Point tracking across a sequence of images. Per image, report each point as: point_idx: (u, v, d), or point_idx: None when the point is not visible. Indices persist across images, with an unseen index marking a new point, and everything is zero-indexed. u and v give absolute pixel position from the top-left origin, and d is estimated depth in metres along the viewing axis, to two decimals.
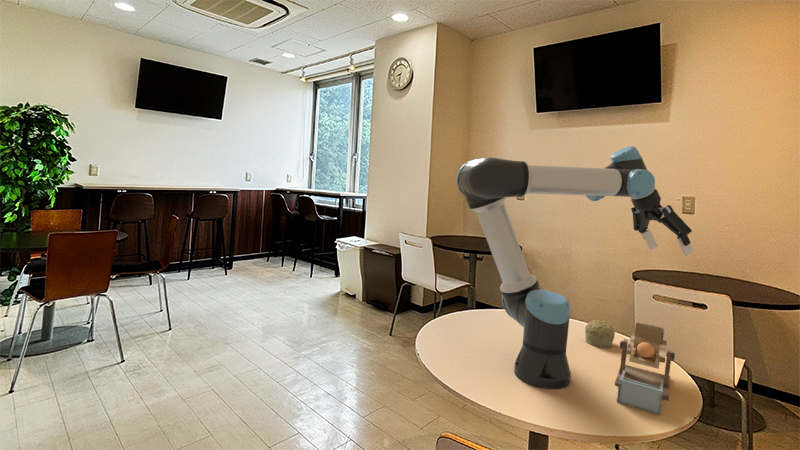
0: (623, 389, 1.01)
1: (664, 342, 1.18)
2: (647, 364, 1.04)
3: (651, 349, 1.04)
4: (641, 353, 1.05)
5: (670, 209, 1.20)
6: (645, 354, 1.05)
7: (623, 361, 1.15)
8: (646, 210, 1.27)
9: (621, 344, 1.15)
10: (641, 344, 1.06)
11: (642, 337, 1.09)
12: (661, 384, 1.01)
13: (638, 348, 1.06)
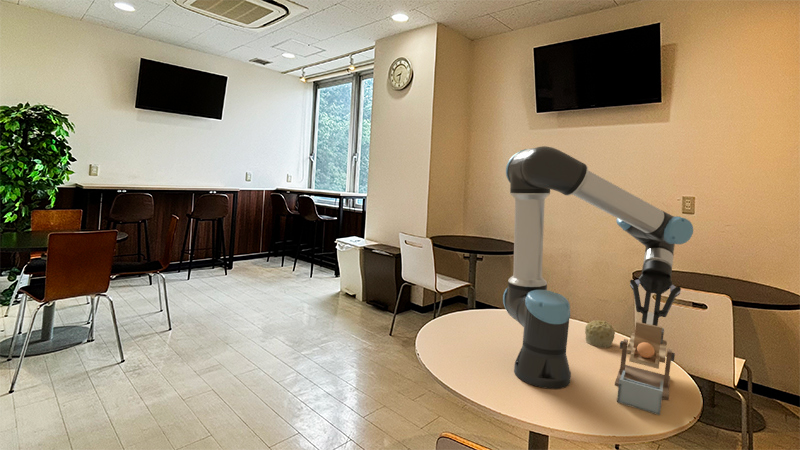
0: (623, 389, 1.01)
1: (664, 342, 1.18)
2: (647, 364, 1.04)
3: (651, 350, 1.04)
4: (641, 353, 1.05)
5: (678, 294, 1.15)
6: (645, 354, 1.05)
7: (623, 361, 1.15)
8: (651, 274, 1.20)
9: (621, 344, 1.15)
10: (641, 344, 1.06)
11: (642, 337, 1.09)
12: (661, 384, 1.01)
13: (638, 348, 1.06)
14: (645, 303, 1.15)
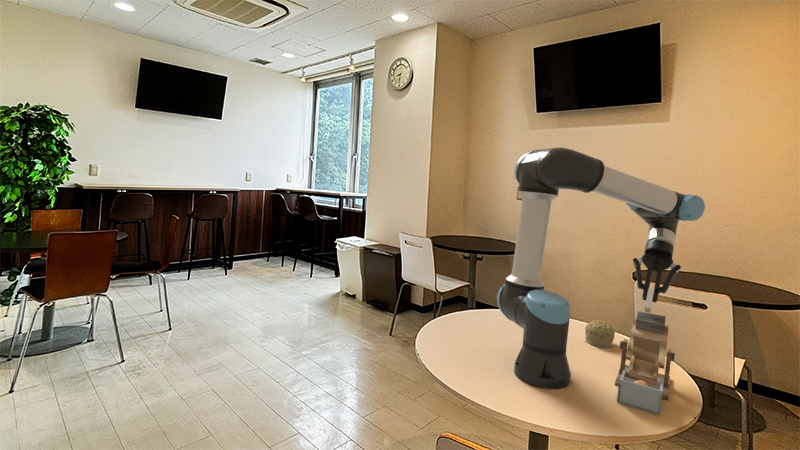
0: (623, 389, 1.01)
1: (665, 330, 1.16)
2: (645, 378, 1.05)
3: None
4: None
5: (678, 271, 1.22)
6: None
7: (623, 361, 1.15)
8: (653, 253, 1.27)
9: (621, 344, 1.15)
10: None
11: (640, 347, 1.08)
12: (661, 384, 1.01)
13: None
14: (646, 280, 1.22)
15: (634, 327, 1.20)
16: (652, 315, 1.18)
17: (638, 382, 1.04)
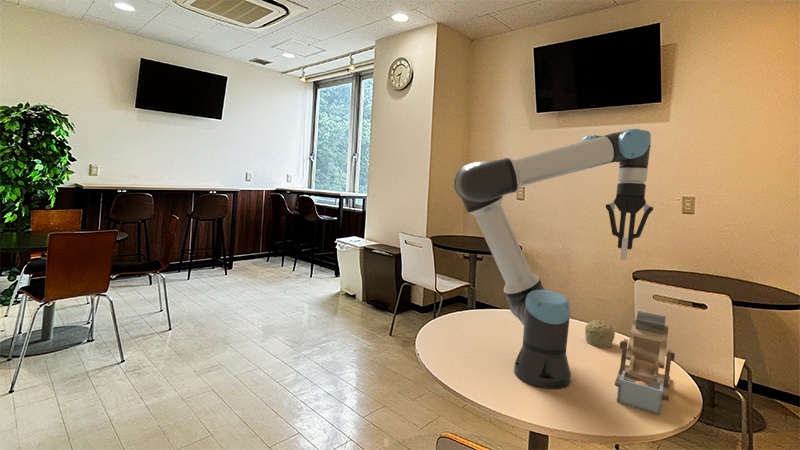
0: (623, 389, 1.01)
1: (665, 330, 1.16)
2: (645, 378, 1.05)
3: None
4: None
5: (651, 211, 1.19)
6: None
7: (623, 361, 1.15)
8: (625, 195, 1.22)
9: (621, 344, 1.15)
10: None
11: (640, 347, 1.08)
12: (661, 384, 1.01)
13: None
14: (620, 229, 1.23)
15: (634, 327, 1.20)
16: (652, 315, 1.18)
17: None
